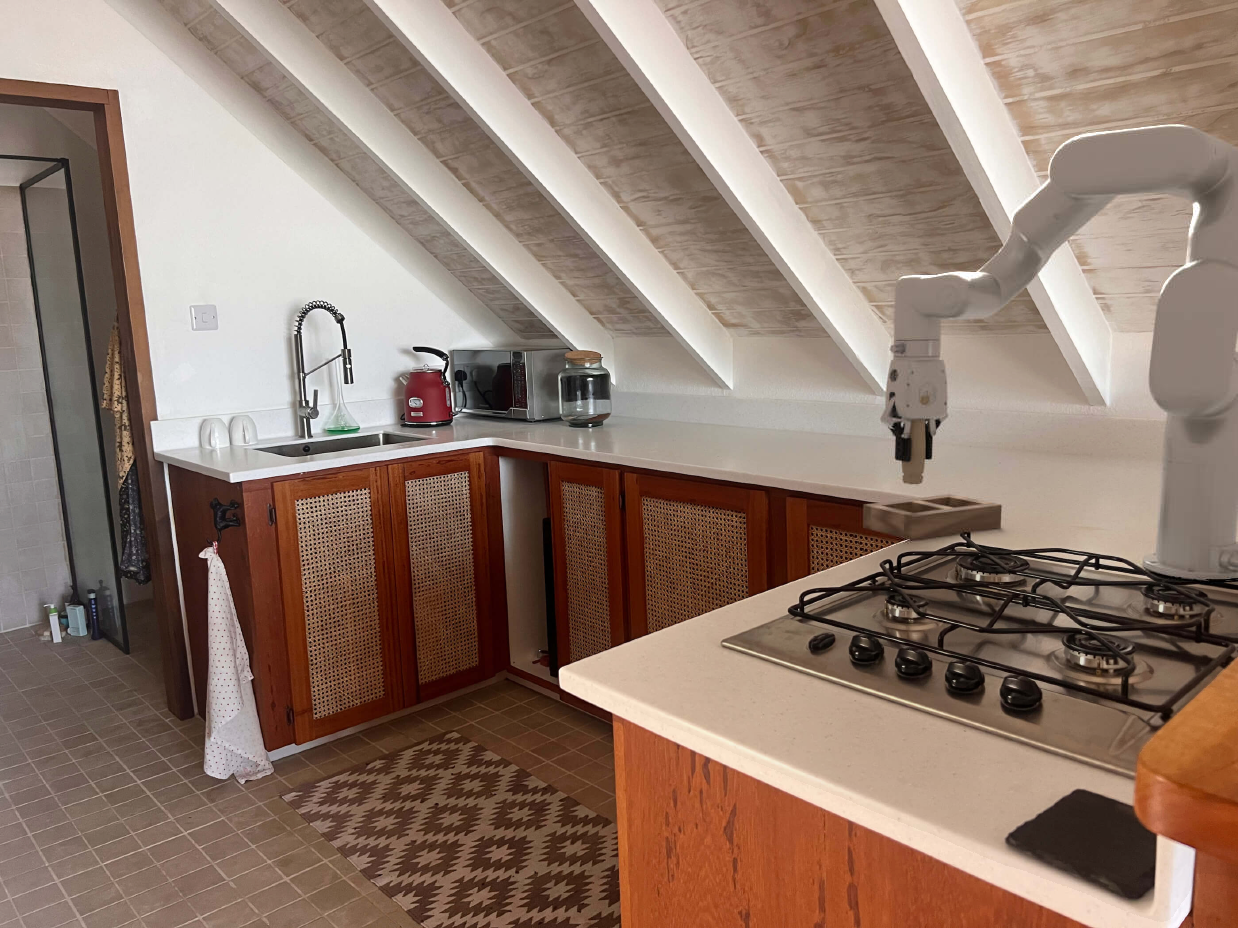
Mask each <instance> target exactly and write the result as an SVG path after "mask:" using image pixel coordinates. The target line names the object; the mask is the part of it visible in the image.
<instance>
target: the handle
mask: <svg viewBox="0 0 1238 928" xmlns="http://www.w3.org/2000/svg"><path fill="white" fill-rule="evenodd" d="M919 402H921V404H923V405H927V404H929V402H930V396H924V397H921V401H919ZM908 438H911V440H912V443H911V460H910V462H904V461H901V471H902V472H901V473H903V475H901V476H902V483H903V484H908V485H920V484H922V483H923V481H924V475H923V474H924V471H925V463H926V459H925V452H926V450H925V449H926V443H925V419H922V420H911V426H910V432H909V436H908Z"/></svg>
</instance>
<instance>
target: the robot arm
mask: <svg viewBox="0 0 1238 928" xmlns="http://www.w3.org/2000/svg"><path fill="white" fill-rule="evenodd" d="M1159 193H1160V194H1161V193H1162V194H1165V195H1168V196H1173V197H1176V198H1180V199H1185V200H1188V201H1189V202H1190V204H1192V209H1193V211H1192V212H1193V213H1192V214H1193V215H1192V218H1191V221H1190V226H1189V229H1188V230H1189V231H1188V236H1187V250H1186V257H1185V264H1184V265H1183V266H1181V267H1180V268H1178V269H1177V270H1175V271H1173V273H1172V274H1171V275H1170V276H1169V277H1168V278H1167V279H1166V280H1165V282H1164V284H1163V286H1162V288H1161V290H1160V293H1159V295H1158V299H1157V304H1156V309H1155V318H1154V325H1153V334H1152V341H1151V343H1152V344H1151V351H1150V359H1149V367H1148V388H1149V389H1148V390H1149V393H1150V395H1151V397H1152V399H1153V401H1154V403H1155V404H1156V406H1158V407H1159V408H1160V409H1161V410H1162V411H1163V412H1165V413H1166V420H1165V426H1164V432H1163V441H1162V454H1161V457H1162V458H1161V467H1160V468H1161V469H1160V482H1159V498H1158V513H1157V531H1156V542H1155V543H1156V544H1155V545H1156V548H1155V552H1153V553H1152V552H1151V553H1148V554H1146V555H1144V556H1143V558H1142V566H1143V567H1144V568H1145V569H1146V570H1149V571H1151V572H1153V573H1157V574H1160V575H1165V576H1169V577H1173V576H1174V578H1179V577H1181V578H1180V579H1187V580H1194V579H1196V581H1197V580H1198V581H1207V580H1206V579H1231V578H1238V541H1237V533H1238V351H1236V347H1237V340H1238V147H1236V146H1234V145H1233V144H1231V143H1229V142H1227V141H1224V140H1222V139H1220V138H1218V137H1215V136H1213V135H1211V134H1210V133H1208V132H1205V131H1203V130H1201V129H1199V128H1196V127H1193V126H1191V125H1185V124H1165V125H1163V124H1162V125H1156V126H1153V125H1152V126H1146V127H1138V128H1127V129H1120V130H1111V131H1101V132H1099V131H1098V132H1091V133H1084V134H1080V135H1078V136H1077V135H1076V136H1074V137H1072V138H1070V139H1069V140H1067V141H1065V142H1064V143H1062V144H1061V145H1060V146H1059V147H1058V148H1057V149H1056V151H1055V152H1054V153H1053V155H1052V157H1051V159H1050V161H1049V165H1048V180H1047V181H1046V182H1045V183H1043V184H1042V186H1040V187H1039V188H1038V189H1036V191H1035V192H1034V193H1033V194H1032V195H1030V196H1029V197H1028V198H1027V199H1026V200H1025V201H1024V202H1022V204H1021V205H1019V206H1018V207H1017V208H1016V209H1015V210H1014V212H1012V213H1013V214H1012V216H1011V219H1010V233H1009V236H1008V238H1007V240H1006V241H1005V243H1004V244H1003V246H1002V247H1001V248H1000V249H999V251H998V252H997V253H996V254H995V255H994V256H993V257H991V258H990V260H988V261H987V262H986V263H985V264H984V265H983V266H982V267H980V269H979V270H977V271H976V272H971V271H954V272H947V273H941V274H937V275H923V274H922V275H905V276H902V277H899V278H898V279H897V281H896V282H895V286H894V287H895V288H894V312H893V313H894V315H893V316H894V319H893V344H892V345H890V347H889V350H890V353H893V358H892V359H891V360H890V362H889V368H888V372H887V373H888V374H887V377H886V379H887V380H886V386H885V398H884V399H885V404H884V405H885V408H884V411H883V413H882V414H881V416H880V419H879V420H880V422H881V423H882V424H883V425H885V426H886V427H887V428H888V429H889V431H890V432H891V434H892V437H893V438H895V441H894V446H895V447H894V460H895V461H899V462H900V461H901V462H902V461H904V462H910V460H911V443H912V440H911V438H908V436H909V432H910V426H911V420H922V419H925V443H926V449H925V450H926V452H925V460H930V461H931V460H932V459H933V444H934V442H933V440H934V438H933V437H935V436H936V435H937V430H938V428H939V427H940V426H941V425H942V423H943V422H944V421H945V420H946V419H947V418H948V416H949V413H948V404H949V402H948V397H949V395H948V380H947V371H946V370H947V369H946V364H945V360H944V358H941V349H942V348H941V345H942V343H941V341H942V339H941V338H942V320H949V321H950V320H951V321H962V320H964V321H966V320H981V319H986V318H988V317H991V316H993V315H994V314H996V313H997V312H999V311H1001V309H1002V308H1004V307H1005V306H1006V305H1007V304H1008V303H1010V302H1011V301H1012V300H1013V299H1014V298H1015V297H1016V296H1018V295H1019V294H1020V293H1021V292H1023V291H1024V289H1025V288H1026V287H1027V286H1029V284H1030V283H1032V281H1034V280H1035V278H1036V277H1037V276H1038V274H1040V272H1041V271H1042V269H1043V268H1044V267H1045V266H1046V265H1047V263H1048V262H1049V260H1050V258H1051V257H1052V255H1053V254H1054V252H1056V251H1057V250H1058V249H1059V248H1060V247H1061V246H1062V245H1063V244H1064V243H1066V242H1067V241H1068V240H1069V239H1071V238H1072V237H1073V236H1074V235H1075V234H1076V233H1077V232H1078V231H1079V230H1081V229H1082V228H1083V227H1084V226H1085V225H1086V224H1087V223H1088V222H1090V221H1091V220H1092V219H1094V218H1095V216H1097V215H1098V214H1099V213H1101V211H1102V210H1104V209H1105V208H1106V207H1107V206H1108V205H1109V204H1110V203H1111V202H1113V201H1114V200H1115V199H1116V198H1117V197H1118V196H1124V195H1126V196H1127V195H1138V194H1140V195H1141V194H1159ZM924 396H930V402H929V404H927V405H923V404H921V402H919V401H921V397H924Z"/></svg>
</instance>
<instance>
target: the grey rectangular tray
mask: <svg viewBox="0 0 1238 928" xmlns="http://www.w3.org/2000/svg"><path fill="white" fill-rule="evenodd" d="M862 507H863V509H862V511H863V513H862V527H863V528H864V529H868V530H871V531H876V532H879V533H883V534H887V535H891V536H895V537H898V538H903V539H905V540H909V541H918V540H926V539H933V538H937V537H945V536H952V535H959V534H962V533H961V532H966V533H973V532H978V531H985V530H993V529H999V528H1001V527H1002V504H1001V503H995V502H990V501H985V500H980V499H975V498H971V497H964V496H960V495H955V494H950V493H949V494H941V495H934V496H924V497H917V498H916V497H915V498H908V499H907V498H906V499H900V500H892V501H883V502H875V503H867V504H866V503H865V504H863V506H862Z"/></svg>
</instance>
